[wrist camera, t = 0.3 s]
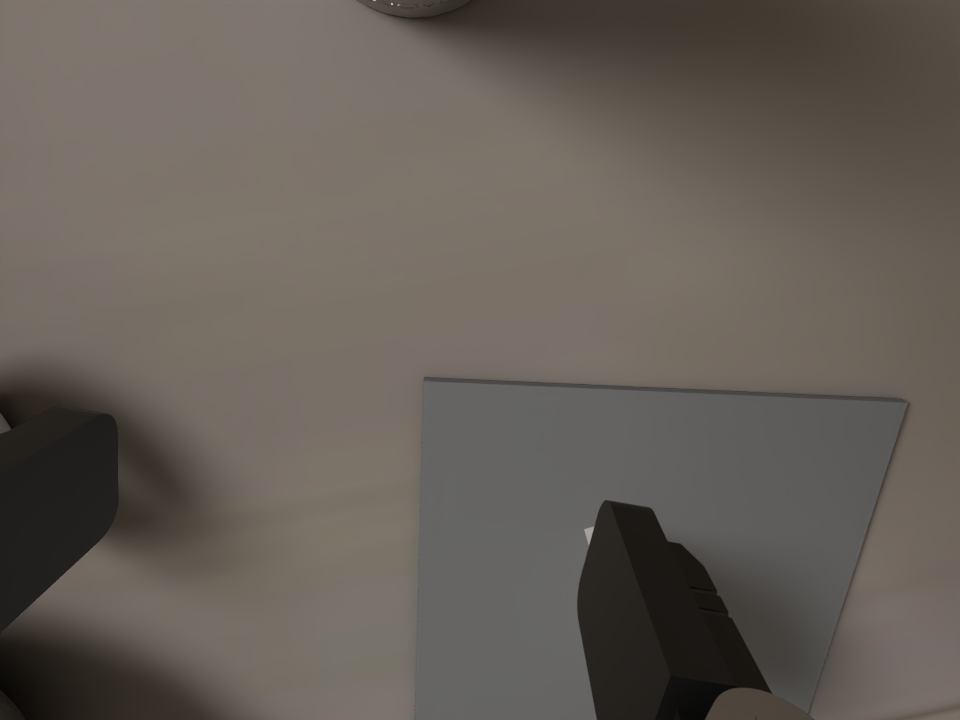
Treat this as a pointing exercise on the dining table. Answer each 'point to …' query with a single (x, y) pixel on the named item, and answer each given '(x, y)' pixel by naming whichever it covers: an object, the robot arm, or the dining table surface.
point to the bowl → (9, 709)
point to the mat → (639, 481)
